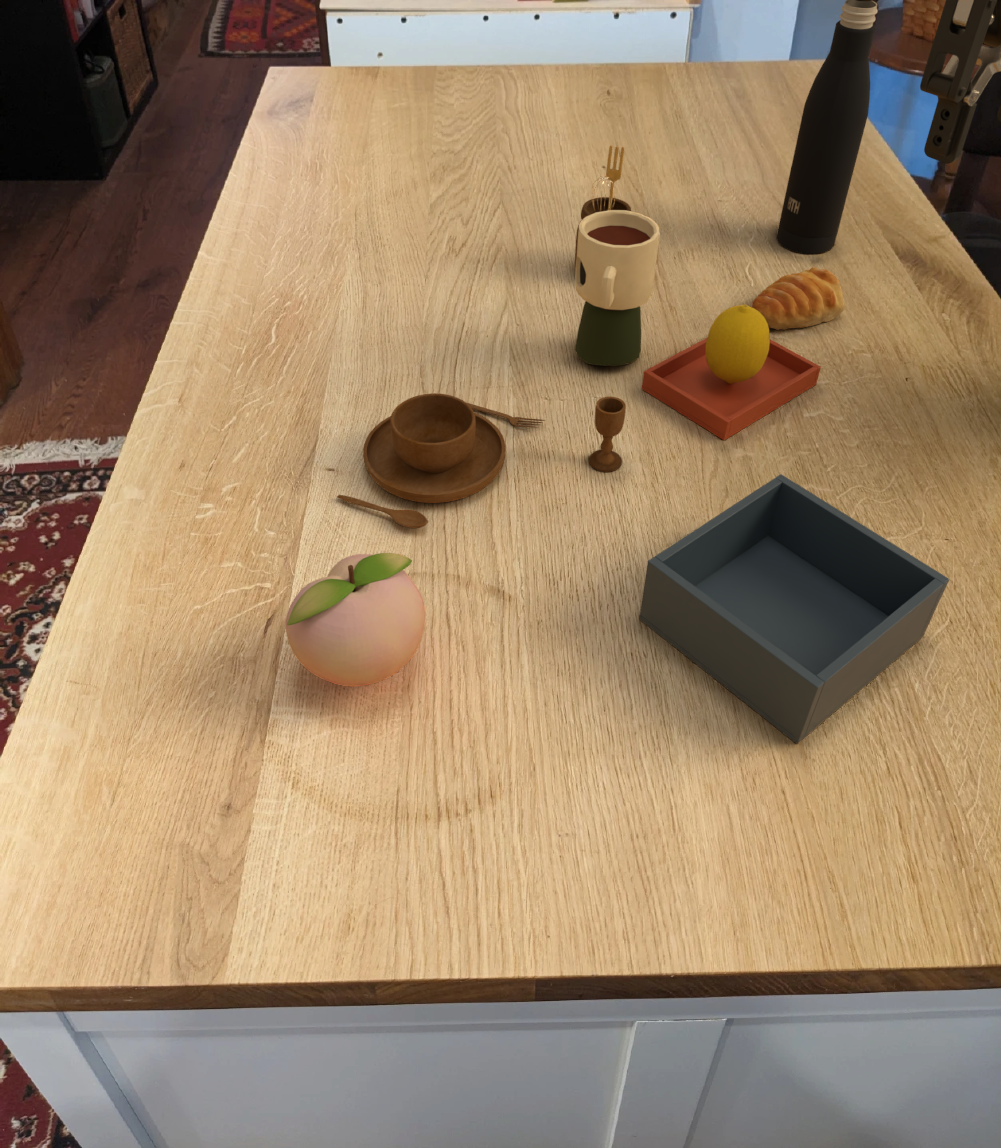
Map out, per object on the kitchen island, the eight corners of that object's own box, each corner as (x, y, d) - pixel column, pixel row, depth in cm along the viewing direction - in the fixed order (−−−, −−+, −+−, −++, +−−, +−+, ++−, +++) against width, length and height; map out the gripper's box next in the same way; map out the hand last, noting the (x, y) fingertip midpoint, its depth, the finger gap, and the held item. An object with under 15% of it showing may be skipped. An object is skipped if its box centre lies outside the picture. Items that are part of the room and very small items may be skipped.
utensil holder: (568, 280, 108) (574, 168, 99) (581, 251, 112) (588, 142, 103) (623, 288, 107) (634, 176, 98) (634, 259, 111) (646, 149, 102)
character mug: (581, 320, 102) (589, 195, 93) (651, 330, 101) (667, 204, 92) (559, 381, 95) (567, 252, 85) (635, 392, 94) (651, 263, 84)
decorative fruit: (360, 744, 66) (344, 645, 59) (277, 679, 70) (252, 578, 63) (457, 660, 71) (453, 559, 64) (375, 603, 75) (362, 502, 68)
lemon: (754, 405, 91) (771, 328, 86) (693, 393, 93) (707, 315, 87) (765, 372, 95) (782, 296, 89) (706, 360, 96) (720, 284, 91)
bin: (765, 531, 81) (780, 473, 76) (923, 636, 73) (950, 578, 69) (638, 618, 74) (647, 560, 70) (796, 744, 66) (818, 687, 62)
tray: (733, 339, 100) (737, 321, 98) (816, 384, 95) (821, 366, 93) (641, 389, 94) (643, 370, 93) (723, 440, 89) (727, 422, 87)
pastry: (777, 343, 99) (785, 309, 97) (732, 312, 103) (738, 278, 101) (847, 317, 103) (856, 282, 100) (800, 287, 107) (808, 254, 104)
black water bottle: (839, 233, 115) (919, -72, 94) (828, 259, 111) (908, -54, 89) (783, 222, 117) (848, -80, 95) (770, 247, 113) (835, -63, 91)
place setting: (428, 389, 94) (425, 334, 90) (629, 453, 87) (636, 397, 83) (319, 500, 83) (310, 443, 79) (539, 583, 76) (542, 526, 72)
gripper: (1070, -122, 51) (966, 192, 62) (1203, -163, 57) (1086, 129, 69) (939, -147, 55) (864, 153, 66) (1077, -183, 61) (987, 97, 73)
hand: (977, 140), depth 67 cm, fingers open, 8 cm apart
